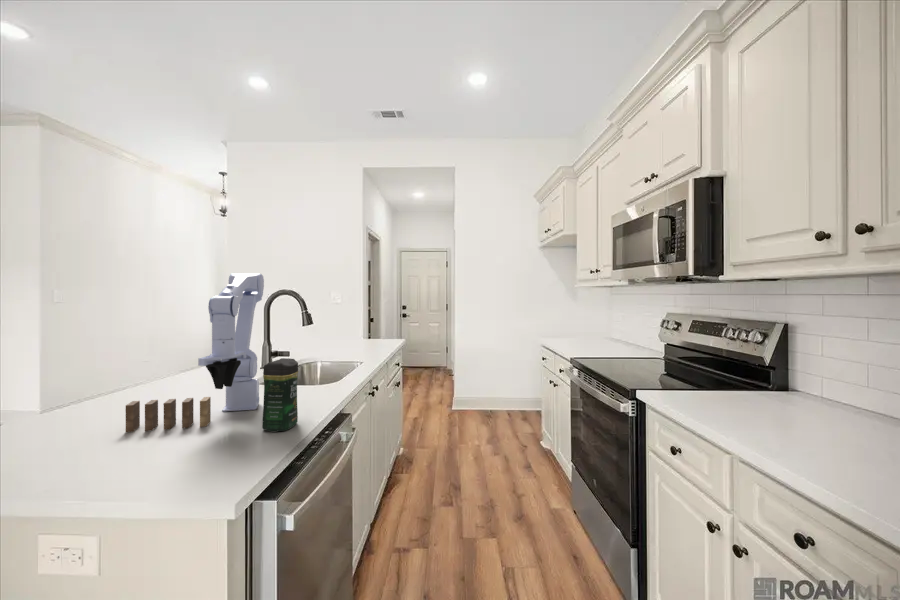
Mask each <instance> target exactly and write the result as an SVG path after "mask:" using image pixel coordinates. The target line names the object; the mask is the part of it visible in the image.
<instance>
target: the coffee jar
mask: <svg viewBox="0 0 900 600" xmlns="http://www.w3.org/2000/svg"><path fill="white" fill-rule="evenodd" d="M262 374H263V375H262V377H263V386H264V387H263V407H262V409H263V410H262V420H261V423H262V426H261V427H262V429H263V430H264V431H268V432H273V433H277V432H280V431H287V430H290V429H291V428H293V427H294V426H295V425H297V423H298V420H299V418H298V414H299V413H298V376H299V362H298V361H297V360H295V358H284V357H283V358H279V359H277V360H273V361H269V362H268V363H266V364H264V365H263V371H262Z"/></svg>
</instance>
